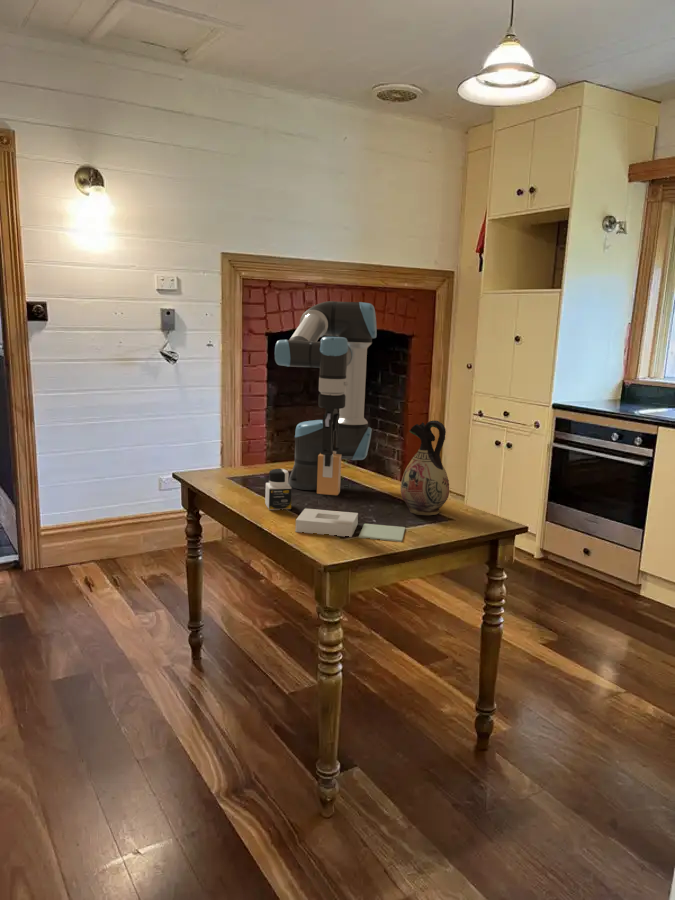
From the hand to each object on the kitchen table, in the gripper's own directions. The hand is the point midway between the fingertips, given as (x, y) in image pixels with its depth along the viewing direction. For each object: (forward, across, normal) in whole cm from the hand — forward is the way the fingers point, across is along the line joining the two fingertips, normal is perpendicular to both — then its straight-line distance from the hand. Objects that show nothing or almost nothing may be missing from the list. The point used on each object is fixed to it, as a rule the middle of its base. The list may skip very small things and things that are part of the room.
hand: (329, 474), depth 194 cm
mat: (+16, 0, -16) cm, 22 cm away
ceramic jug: (+16, +24, -27) cm, 40 cm away
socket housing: (+16, 0, 0) cm, 16 cm away
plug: (+5, 0, 0) cm, 5 cm away
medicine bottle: (+16, +16, +19) cm, 30 cm away
